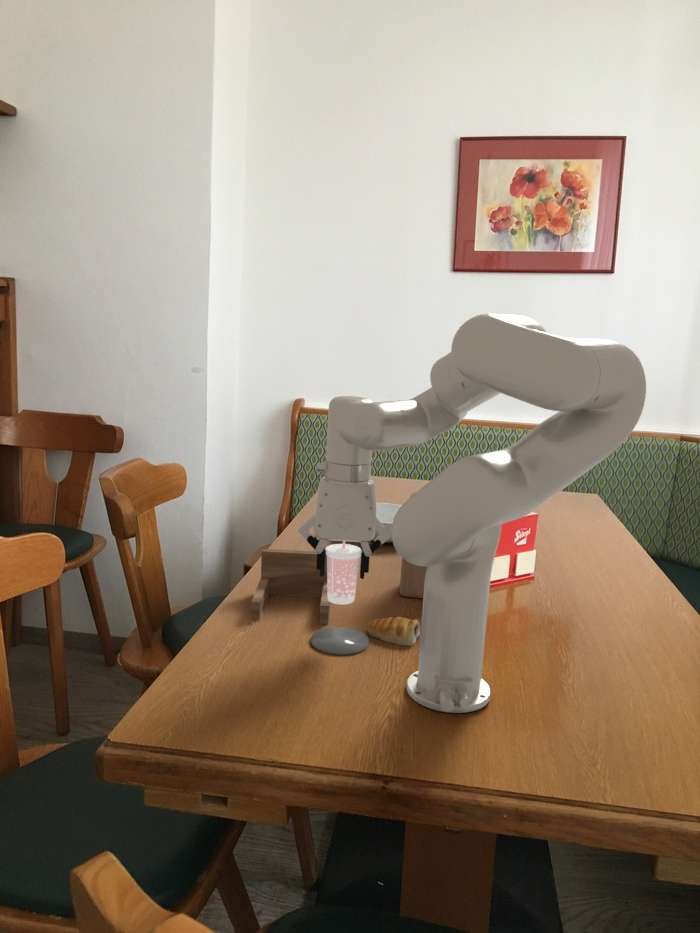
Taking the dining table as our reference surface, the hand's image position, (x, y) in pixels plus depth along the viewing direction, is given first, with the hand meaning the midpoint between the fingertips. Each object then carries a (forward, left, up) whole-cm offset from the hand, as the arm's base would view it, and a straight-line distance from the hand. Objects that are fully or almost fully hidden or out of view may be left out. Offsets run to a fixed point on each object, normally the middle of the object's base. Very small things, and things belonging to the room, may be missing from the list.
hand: (342, 574), depth 128 cm
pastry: (+3, -10, -13) cm, 17 cm away
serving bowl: (+65, -9, -13) cm, 67 cm away
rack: (+14, +9, -12) cm, 21 cm away
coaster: (0, 0, -12) cm, 12 cm away
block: (+27, -17, -13) cm, 34 cm away
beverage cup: (0, 0, -5) cm, 5 cm away
